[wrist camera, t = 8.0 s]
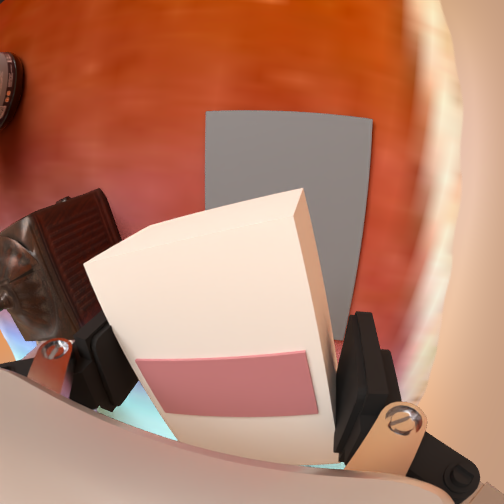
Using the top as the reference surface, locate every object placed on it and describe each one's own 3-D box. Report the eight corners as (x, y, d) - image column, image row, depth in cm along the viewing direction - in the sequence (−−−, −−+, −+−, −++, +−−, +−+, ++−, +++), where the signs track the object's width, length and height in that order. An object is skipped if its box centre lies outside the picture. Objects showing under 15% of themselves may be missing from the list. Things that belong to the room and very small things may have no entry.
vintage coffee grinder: (101, 179, 25) (-77, 242, 8) (142, 288, 28) (11, 416, 11) (21, 224, 29) (-93, 282, 13) (54, 305, 32) (-44, 385, 16)
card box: (303, 187, 10) (293, 217, 6) (341, 390, 12) (339, 465, 9) (149, 225, 11) (81, 265, 8) (218, 397, 14) (191, 461, 10)
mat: (342, 337, 25) (343, 340, 25) (210, 321, 27) (208, 323, 27) (371, 119, 19) (372, 119, 19) (207, 111, 21) (206, 111, 21)
